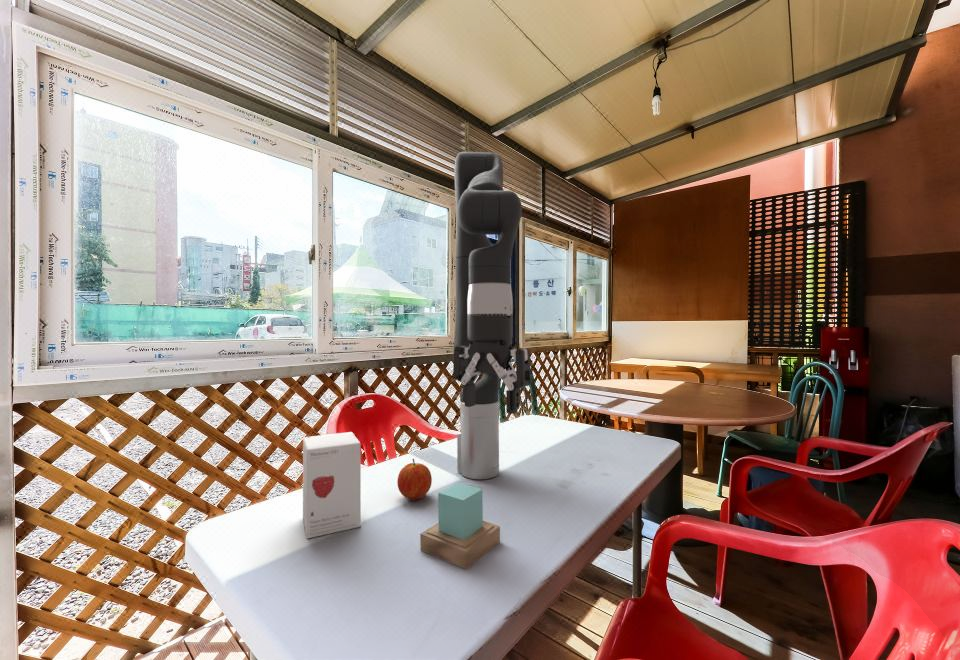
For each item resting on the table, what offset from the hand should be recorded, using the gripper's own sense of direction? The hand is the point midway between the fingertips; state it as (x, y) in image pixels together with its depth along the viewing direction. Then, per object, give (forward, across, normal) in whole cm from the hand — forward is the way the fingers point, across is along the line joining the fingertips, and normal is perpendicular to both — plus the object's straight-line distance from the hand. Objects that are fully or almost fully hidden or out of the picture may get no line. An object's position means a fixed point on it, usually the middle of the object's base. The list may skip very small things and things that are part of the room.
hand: (490, 409), depth 66 cm
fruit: (+22, -21, +3) cm, 30 cm away
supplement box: (+22, -26, -13) cm, 36 cm away
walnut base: (+21, -2, -6) cm, 22 cm away
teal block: (+18, -2, -6) cm, 19 cm away
